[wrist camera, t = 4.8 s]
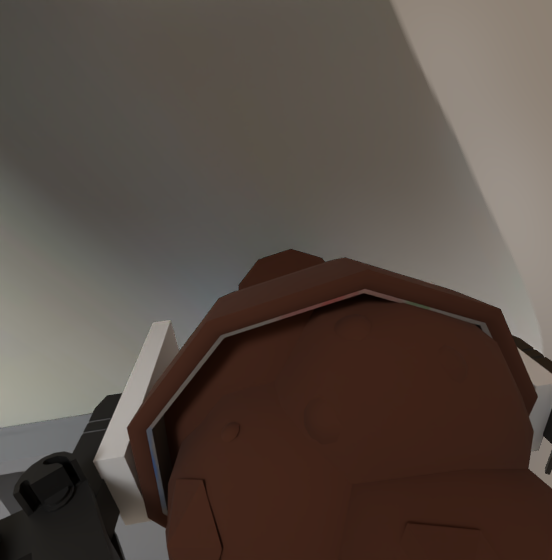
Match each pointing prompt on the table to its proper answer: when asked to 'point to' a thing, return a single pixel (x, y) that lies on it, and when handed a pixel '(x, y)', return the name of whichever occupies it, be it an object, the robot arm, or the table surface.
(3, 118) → the table surface
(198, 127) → the table surface
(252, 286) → the ice cream bowl
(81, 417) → the tray
